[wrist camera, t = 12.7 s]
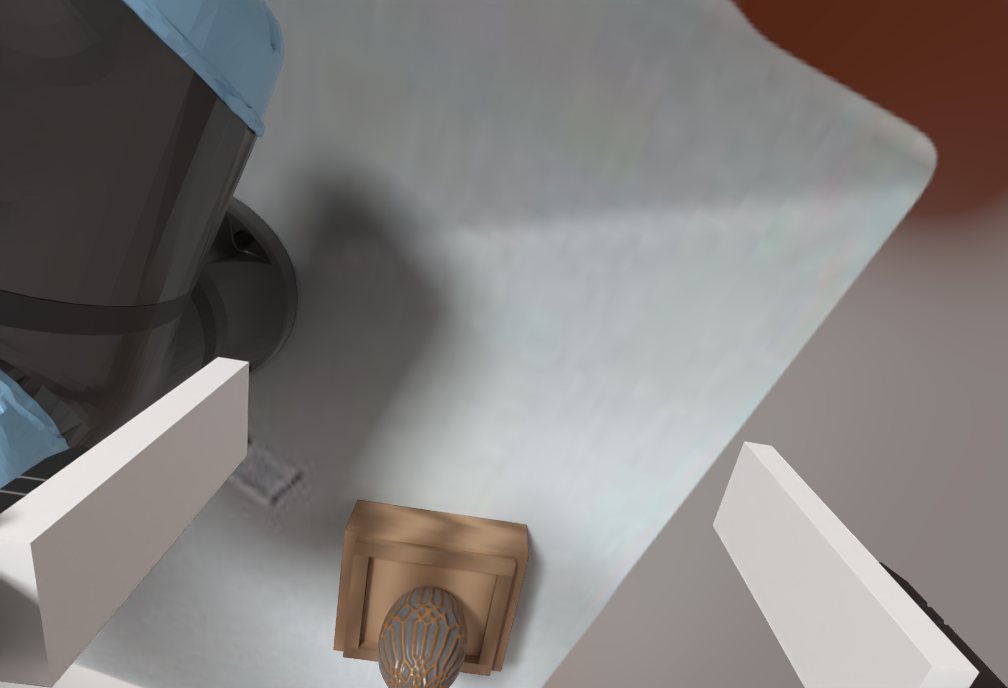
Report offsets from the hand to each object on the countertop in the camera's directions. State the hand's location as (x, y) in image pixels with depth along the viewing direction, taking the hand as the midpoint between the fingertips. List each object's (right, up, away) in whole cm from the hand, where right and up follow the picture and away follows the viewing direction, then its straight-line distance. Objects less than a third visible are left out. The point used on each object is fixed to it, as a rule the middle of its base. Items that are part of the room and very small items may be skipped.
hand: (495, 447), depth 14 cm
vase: (-6, -19, +31) cm, 37 cm away
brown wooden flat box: (-6, -18, +35) cm, 40 cm away
